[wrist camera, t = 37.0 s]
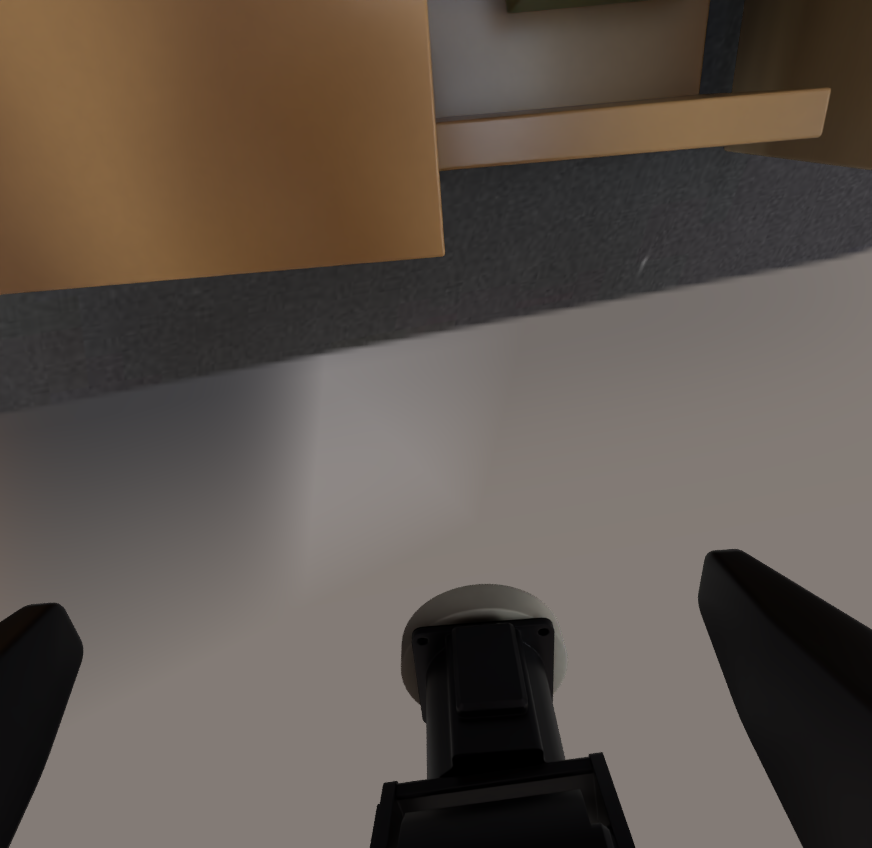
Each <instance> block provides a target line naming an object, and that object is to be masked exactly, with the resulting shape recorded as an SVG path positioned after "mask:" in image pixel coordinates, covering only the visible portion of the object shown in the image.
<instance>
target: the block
mask: <svg viewBox="0 0 872 848" xmlns="http://www.w3.org/2000/svg"><path fill="white" fill-rule="evenodd" d="M636 1H647V0H506V4H507V12H508V13H519V12H529V11H540V10H551V9H561V8H572V7H583V6H593V5H604V4H615V3H626V2H636Z"/></svg>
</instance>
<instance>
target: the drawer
mask: <svg viewBox="0 0 872 848" xmlns="http://www.w3.org/2000/svg"><path fill="white" fill-rule="evenodd" d="M709 4H710V0H647V1H636V2H626V3H615V4H604V5H593V6H583V7H572V8H561V9H551V10H540V11H529V12H519V13H508V12H507V4H506V0H427V6H428V20H429V34H430V48H431V62H432V77H433V91H434V105H435V119H436V133H437V147H438V162H439V171H446V170H457V169H468V168H480V167H491V166H502V165H514V164H525V163H536V162H548V161H559V160H570V159H582V158H593V157H604V156H615V155H627V154H638V153H649V152H661V151H672V150H683V149H695V148H706V147H717V146H724V150H725V151H729V152H737V153H745V154H752V155H760V156H767V157H775V158H783V159H790V160H798V161H805V162H813V163H820V164H828V165H836V166H843V167H851V168H858V169H866V170H872V0H745V1H744V9H743V16H742V23H741V30H740V37H739V44H738V51H737V59H736V66H735V73H734V80H733V87H732V93H715V94H699V90H700V81H701V73H702V64H703V56H704V47H705V39H706V30H707V21H708V13H709Z"/></svg>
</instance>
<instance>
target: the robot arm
mask: <svg viewBox="0 0 872 848" xmlns="http://www.w3.org/2000/svg"><path fill="white" fill-rule="evenodd" d="M698 603H699V608H700V612H701V615H702V618H703V620H704V623H705V626H706V629H707V631H708V634H709V636H710V639H711V642H712V645H713V647H714V650H715V653H716V656H717V658H718V661H719V664H720V667H721V669H722V672H723V675H724V677H725V680H726V683H727V685H728V688H729V691H730V694H731V696H732V699H733V702H734V704H735V706H736V709H737V712H738V714H739V717H740V719H741V721H742V723H743V726H744V728H745V730H746V732H747V734H748V737H749V738H750V741H751V743H752V745H753V747H754V749H755V750H756V752H757V755H758V757H759V759H760V761H761V763H762V765H763V767H764V769H765V771H766V773H767V775H768V777H769V779H770V781H771V783H772V785H773V787H774V789H775V791H776V793H777V795H778V797H779V800H780V801H781V803H782V806H783V808H784V810H785V812H786V814H787V816H788V818H789V820H790V822H791V824H792V826H793V828H794V830H795V832H796V834H797V836H798V838H799V840H800V842H801V844H802V846H803V848H872V629H870V628H868V627H867V626H865V625H864V624H862V623H860V622H859V621H857V620H855V619H854V618H852V617H850V616H849V615H847V614H845V613H844V612H842V611H840V610H839V609H837V608H836V607H834V606H832V605H831V604H829V603H827V602H826V601H824V600H822V599H821V598H819V597H818V596H816V595H814V594H813V593H811V592H809V591H808V590H806V589H804V588H803V587H801V586H799V585H798V584H796V583H794V582H793V581H791V580H790V579H788V578H786V577H785V576H783V575H781V574H780V573H778V572H776V571H775V570H773V569H772V568H770V567H768V566H767V565H765V564H763V563H762V562H760V561H758V560H757V559H755V558H753V557H752V556H750V555H749V554H747V553H745V552H743V551H741V550H738V549H728V550H715V551H711V552H709V553H708V554H707V555H706V557H705V560H704V565H703V571H702V576H701V582H700V587H699V593H698ZM542 628H545V629H542ZM422 637H424V638H422ZM412 646H413V653H414V661H415V668H416V675H417V682H418V689H419V696H420V703H421V710H422V717H423V721H424V722H425V723H426V724H427V725H426V727H427V780H419V781H412V782H405V783H398V782H397V781H393V782H387V783H384V784H383V789H382V794H381V801H380V804H378V805H377V810H376V815H375V821H374V827H373V833H372V838H371V844H370V848H635V845H634V842H633V839H632V837H631V833H630V830H629V828H628V825H627V822H626V819H625V816H624V813H623V810H622V807H621V804H620V802H619V799H618V796H617V793H616V790H615V787H614V784H613V781H612V778H611V775H610V773H609V770H608V767H607V764H606V761H605V758H604V755H603V753H602V752H601V753H593V754H589V757H584V758H576V759H569V760H565V756H564V751H563V747H562V743H561V738H560V734H559V729H558V725H557V721H556V716H555V712H554V707H553V667H554V628H553V624H552V621H551V620H550V619H548V618H529V619H516V620H503V621H490V622H477V623H464V624H451V625H438V626H425V627H418V628H416V629H415V630H414V631H413V632H412ZM82 658H83V645H82V641H81V639H80V637H79V635H78V633H77V631H76V629H75V628H74V626H73V624H72V622H71V620H70V618H69V616H68V614H67V612H66V611H65V609H64V607H62V606H61V605H60V604H57V603H43V604H31V605H27V606H25V607H23V608H21V609H19V610H18V611H16V612H15V613H13V614H12V615H10V616H9V617H7V618H6V619H4V620H3V621H1V622H0V848H9V846H10V844H11V841H12V839H13V837H14V835H15V833H16V831H17V828H18V826H19V824H20V822H21V819H22V817H23V815H24V813H25V810H26V809H27V806H28V804H29V802H30V800H31V798H32V795H33V793H34V791H35V788H36V786H37V784H38V782H39V779H40V777H41V774H42V772H43V770H44V767H45V764H46V762H47V759H48V756H49V754H50V751H51V748H52V746H53V742H54V740H55V737H56V734H57V731H58V728H59V726H60V723H61V720H62V717H63V714H64V711H65V708H66V705H67V702H68V699H69V697H70V694H71V691H72V688H73V685H74V682H75V679H76V677H77V674H78V671H79V668H80V665H81V662H82Z"/></svg>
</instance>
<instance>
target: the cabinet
mask: <svg viewBox="0 0 872 848" xmlns="http://www.w3.org/2000/svg"><path fill="white" fill-rule="evenodd" d="M444 255H445V247H444V233H443V218H442V204H441V190H440V176H439V162H438V147H437V133H436V119H435V105H434V91H433V77H432V62H431V48H430V34H429V20H428V6H427V0H0V295H2V294H13V293H25V292H37V291H48V290H60V289H71V288H83V287H95V286H106V285H118V284H129V283H141V282H153V281H164V280H176V279H187V278H199V277H210V276H222V275H234V274H245V273H257V272H268V271H280V270H292V269H303V268H315V267H326V266H338V265H350V264H361V263H373V262H384V261H396V260H408V259H419V258H431V257H442V256H444Z"/></svg>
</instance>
